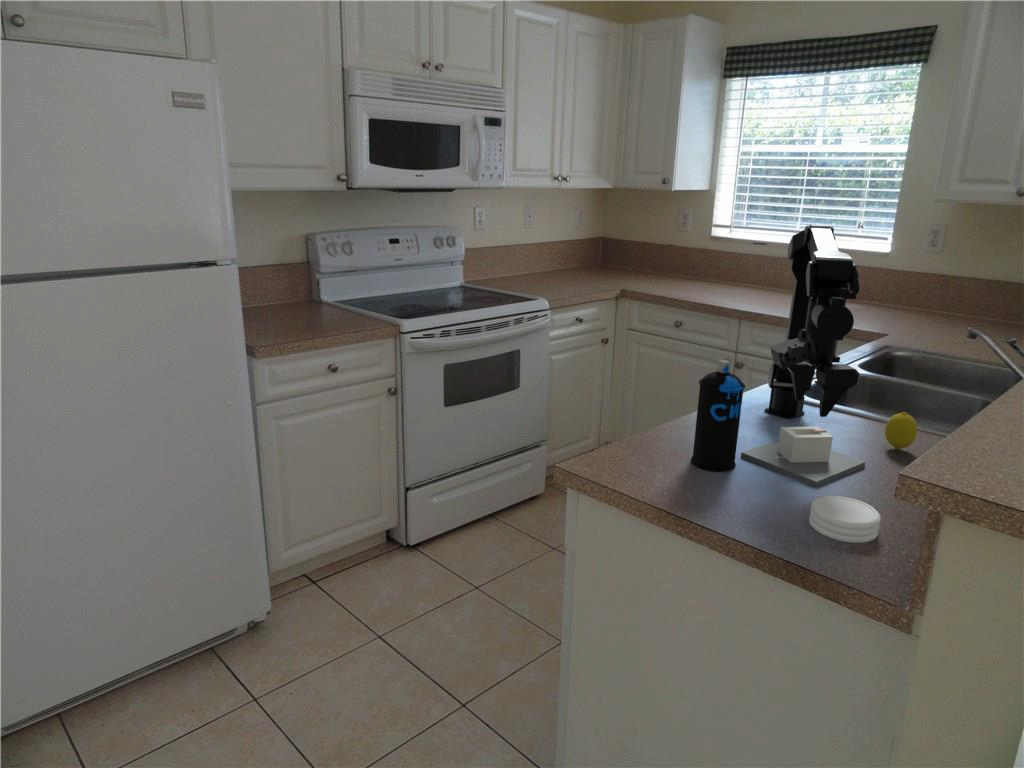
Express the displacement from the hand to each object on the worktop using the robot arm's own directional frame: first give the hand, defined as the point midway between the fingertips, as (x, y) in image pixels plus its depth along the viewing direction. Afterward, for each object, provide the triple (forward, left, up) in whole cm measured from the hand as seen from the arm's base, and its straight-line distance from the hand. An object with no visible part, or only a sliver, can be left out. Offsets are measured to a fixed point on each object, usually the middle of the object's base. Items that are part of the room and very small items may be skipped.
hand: (810, 408), depth 136 cm
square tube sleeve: (0, 0, -10) cm, 10 cm away
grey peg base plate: (0, 0, -11) cm, 11 cm away
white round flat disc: (+19, -18, -11) cm, 28 cm away
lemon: (+7, +22, -11) cm, 26 cm away
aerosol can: (-9, -15, -11) cm, 21 cm away
